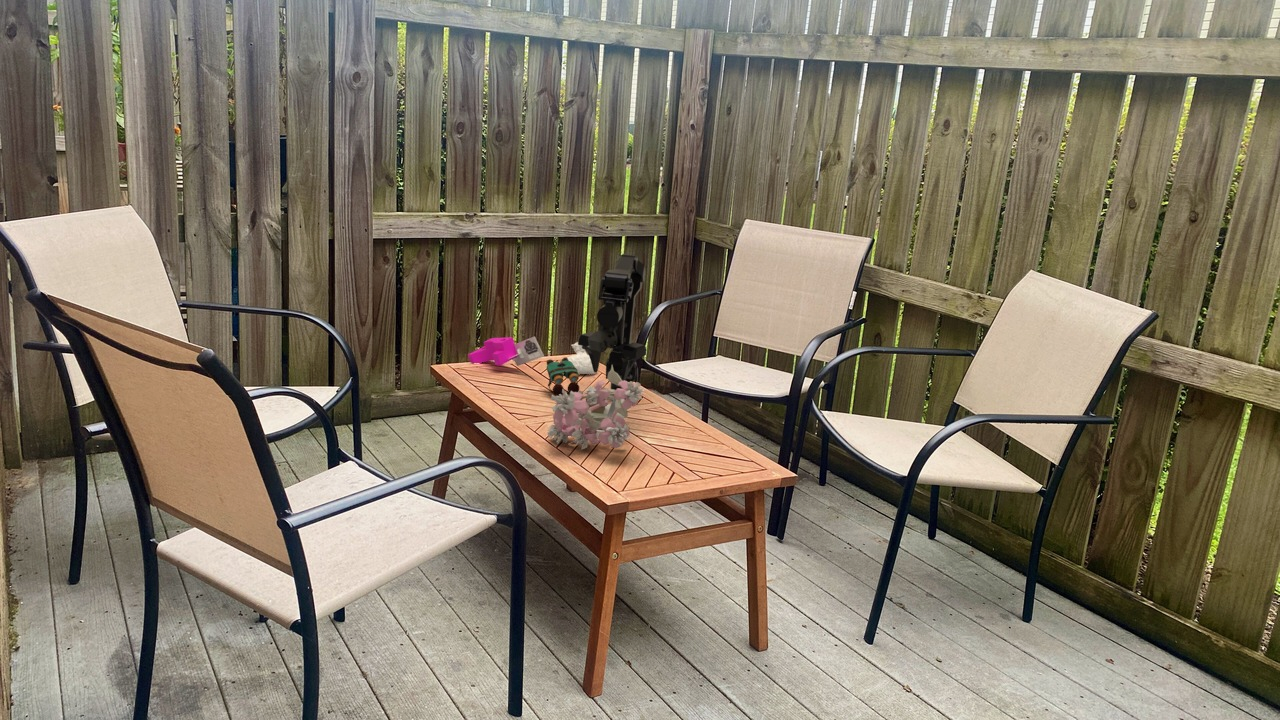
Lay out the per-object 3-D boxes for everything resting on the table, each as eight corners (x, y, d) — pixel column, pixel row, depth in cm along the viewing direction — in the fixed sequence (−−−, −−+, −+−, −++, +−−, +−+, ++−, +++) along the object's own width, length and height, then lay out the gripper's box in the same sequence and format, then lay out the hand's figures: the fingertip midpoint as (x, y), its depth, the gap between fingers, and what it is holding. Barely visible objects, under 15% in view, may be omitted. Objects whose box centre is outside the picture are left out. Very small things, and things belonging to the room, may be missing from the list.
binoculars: (571, 380, 292) (571, 352, 286) (581, 399, 284) (582, 371, 278) (541, 384, 289) (542, 356, 284) (551, 404, 281) (551, 375, 275)
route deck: (569, 407, 275) (570, 390, 274) (625, 412, 275) (627, 395, 273) (555, 434, 251) (556, 415, 250) (617, 440, 250) (618, 422, 249)
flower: (673, 437, 246) (601, 487, 232) (611, 398, 259) (539, 443, 245) (673, 374, 234) (598, 423, 220) (609, 337, 247) (533, 380, 233)
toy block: (512, 337, 301) (494, 346, 296) (518, 355, 303) (501, 365, 298) (482, 338, 312) (465, 347, 307) (489, 356, 314) (471, 365, 309)
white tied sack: (567, 379, 303) (569, 344, 301) (559, 373, 310) (561, 339, 307) (602, 378, 308) (605, 344, 305) (594, 372, 315) (596, 338, 312)
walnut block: (587, 406, 270) (588, 392, 269) (605, 408, 270) (606, 394, 269) (584, 411, 265) (585, 397, 264) (603, 413, 265) (604, 399, 264)
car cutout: (518, 365, 306) (507, 371, 303) (509, 346, 305) (498, 351, 302) (544, 356, 294) (533, 362, 291) (534, 336, 293) (523, 341, 291)
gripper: (567, 317, 256) (563, 374, 260) (626, 331, 247) (621, 389, 251) (591, 311, 265) (588, 366, 269) (649, 324, 256) (644, 381, 260)
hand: (609, 375), depth 262 cm, fingers open, 9 cm apart
